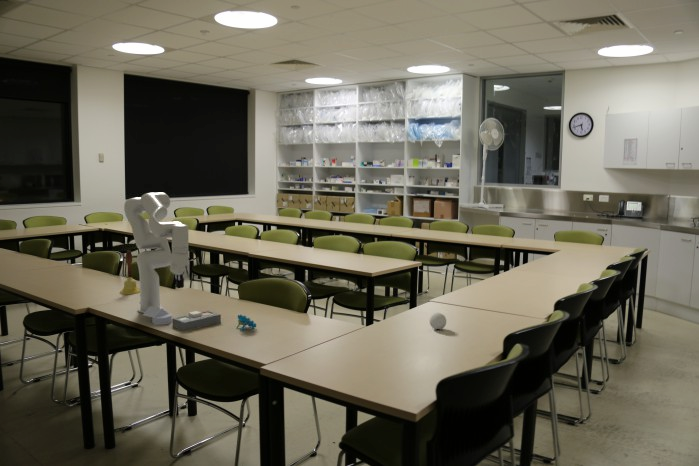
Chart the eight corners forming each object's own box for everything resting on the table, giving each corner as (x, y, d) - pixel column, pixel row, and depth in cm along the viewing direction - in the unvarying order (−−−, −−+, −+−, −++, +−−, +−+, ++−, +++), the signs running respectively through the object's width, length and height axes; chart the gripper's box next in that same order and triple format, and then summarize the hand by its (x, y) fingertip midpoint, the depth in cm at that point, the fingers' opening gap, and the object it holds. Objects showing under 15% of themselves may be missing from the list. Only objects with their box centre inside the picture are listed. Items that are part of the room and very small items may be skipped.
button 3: (200, 319, 267) (199, 313, 267) (207, 318, 270) (207, 312, 270) (205, 321, 264) (204, 315, 264) (212, 319, 267) (212, 313, 267)
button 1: (177, 325, 258) (176, 318, 257) (185, 323, 261) (185, 317, 261) (182, 327, 255) (181, 320, 255) (190, 325, 258) (190, 318, 258)
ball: (425, 329, 258) (426, 313, 257) (435, 325, 264) (435, 309, 263) (440, 333, 253) (440, 316, 252) (449, 329, 259) (450, 313, 258)
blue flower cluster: (261, 326, 254) (247, 314, 249) (254, 337, 252) (240, 324, 246) (247, 324, 262) (233, 312, 257) (241, 334, 259) (227, 323, 254)
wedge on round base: (142, 321, 265) (161, 325, 259) (142, 308, 264) (160, 312, 258) (157, 317, 273) (175, 321, 267) (156, 304, 272) (175, 308, 266)
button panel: (172, 326, 258) (172, 317, 257) (208, 318, 272) (208, 310, 272) (184, 331, 251) (184, 322, 250) (220, 322, 265) (220, 314, 265)
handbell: (114, 293, 321) (113, 252, 318) (126, 289, 333) (125, 248, 330) (134, 295, 319) (132, 252, 316) (145, 290, 331) (144, 249, 328)
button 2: (188, 318, 262) (188, 312, 262) (196, 316, 265) (196, 311, 265) (193, 320, 259) (193, 314, 259) (201, 318, 262) (201, 312, 262)
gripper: (164, 248, 261) (164, 285, 264) (181, 253, 251) (181, 292, 254) (179, 246, 267) (179, 283, 270) (195, 252, 257) (195, 289, 260)
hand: (180, 287), depth 262 cm, fingers closed
